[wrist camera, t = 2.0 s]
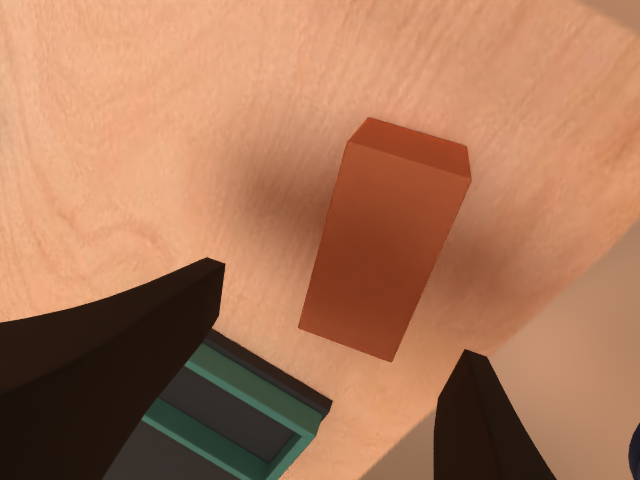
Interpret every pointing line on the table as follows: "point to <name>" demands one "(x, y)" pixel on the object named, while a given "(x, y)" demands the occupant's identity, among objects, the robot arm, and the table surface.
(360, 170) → the pad piece
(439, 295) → the table surface
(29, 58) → the table surface
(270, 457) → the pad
